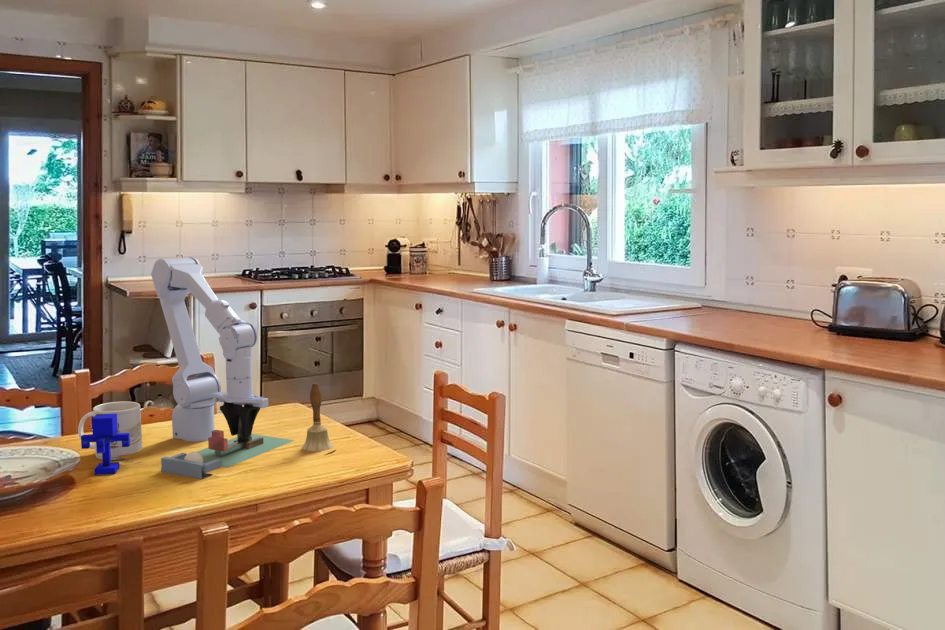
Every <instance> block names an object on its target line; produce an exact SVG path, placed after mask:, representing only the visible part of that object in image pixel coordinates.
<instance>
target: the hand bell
mask: <svg viewBox="0 0 945 630" xmlns="http://www.w3.org/2000/svg"><path fill="white" fill-rule="evenodd" d="M309 397H310V398H309V400H310V405H311V408H312V423H313V424H312V426H309V427H308V428H307V432H306V438H305V442H304V444H303V445H302V446H301V449H302V450H304V451H307V452H325V451H329V450H331V449H333V448H334V445H333V443H332V442H331V440H330V437H329V434H328V428H327V427H326V426H325V425H322V422H321V420H322V419H321V406H322V391H321V389H320V385H319V383H318V382H313V383H312V384H311V389H310V393H309ZM336 451H337V450H336V449H334V450H331V451H330V452H328V453H325V454H324V456H327V455H331V454H333V453H335V452H336Z"/></svg>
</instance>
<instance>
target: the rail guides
mask: <svg viewBox="0 0 945 630" xmlns="http://www.w3.org/2000/svg"><path fill="white" fill-rule="evenodd" d="M250 439H251V441H248V442H246V449H251V448H253V447H256V446H259V445H261V444H263V438H262V437H259V438H256V439H254V440H252V436H250ZM234 442H237V440H234Z"/></svg>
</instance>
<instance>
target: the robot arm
mask: <svg viewBox="0 0 945 630" xmlns="http://www.w3.org/2000/svg"><path fill="white" fill-rule="evenodd" d="M150 275H151V279H152V283H153V285H154V288H155V292H156V296H157V297H158V298H159V302H160V305H161V310H162V312H163V316H164V319H165V323H166V326H167V329H168V333H169V337H170V340H171V343H172V346H173V349H174V350H173V351H174V353H175V358H176V360H177V364H178V367H179V368H178V369H177V370H176V372H175V374H173V376H172V378H171V381H172V395H173V398H174V401H176V404H177V405H175V407H174V408H173V409H172V415H171V425H172V426H171V428H172V429H171V430H172V431H171V432H172V439H177V440H183V441H186V442H192V443H193V442H194V443H195V442H205V441H208V437H211V436H212V434H211V431H213V430H216V429H215V428H216V427H215V404H217V403H218V402H219V403H223V404H222V405H220V406H219V410H220V411H221V413H222V415H223V416H224V418H225V420H226V423H227V425H228V429H229V432H230V436H232V437H233V436H237V415H238V414H239V415H240V419H241V425H242V435H243V437H245V438H246V437H249V436H251V434H253V433H252V432H253V429H254V424H255V421H256V418H257V416H258V414H259V412H260V410H261V409H266V408H269V398H267V397H263V396H259V395H256V394H254V391H253V388H254V387H253V385H254V384H253V353H252V351H253V350H252V349H253V347H254V346H255V345H256V343H257V340H258V335H257V330H256V328H255V326H254V325H253V324H252V322H248V321H247V322H246V321H245V320H244V319H241V318H240V317H239V315H238V314H237V313H236V312H235V310H233V307H231V305H230V303H229V302H228V301H226V300H225V299H218V297H217V295H216V294H215V292H214V290H213V289H212V288H211V286H210V284H209V283H208V281H207V280H206V278H205V277H204V267H203V266H202V265H201V263H200V262H199V260H198V259H197V258H196V257H194V256H191V257H184V258H179V257H178V258H159V259H157V260H156V261H155V262H154V264H153V267H152V270H151V274H150ZM190 294H191V295H193V297H194V298H195V299H196V300H197V301H198V302H199V303H200V304H201V305H202V307H204V308H205V312H204V316H205V318H206V319H207V320H208V322H209V323H210V325H211V326H212V327H213V328H214V329H215V331H216V332H217V334H218V335H219V336H218V341H219V345H220V346H221V349H222V355H223V358H225V376H226V379H225V380H226V385H225V386H226V392H222V385H221V382H220V379H219V378H218V377H217V375H216V373H215V371H214V368H213V367H212V366H210V365H209V364H207V363H206V362H204V361H203V360H202V355H201V353H200V349H199V345H198V342H197V339H196V336H195V332H194V329H193V325H192V322H191V318H190V315H189V312H188V308H187V305H186V301H185V299H186V297H187V296H188V295H190Z"/></svg>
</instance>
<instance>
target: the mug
mask: <svg viewBox="0 0 945 630" xmlns="http://www.w3.org/2000/svg"><path fill="white" fill-rule="evenodd" d="M141 412H142V411H141V404H140V403H138V402H135V401H127V400H126V401H111V402H104V403H102V404H98V405H95V406H94V407H92V411H90V412H87V413H86V414H85V415H83V416H82V417H81V419H80V421H79V423H78V428H77V430H78V431H77V433H78V437H79V440H80V441H81V436H82V435H85V433H84V425H85V422H86V421H87V419H88V418H90V417H92V418H93V417H94V416H95V415H96V414H115V413H117V427H118V432H117V433H130V446H129V447H122V441H114V442H113V443H110V452H111V461H119V460H120V461H121V460H125V459H126V458H123V457H121V456H127V455H131V454H135V453H137V452H138V453H139V452H140V451H141V450H142V449H143V438H142V437H143V433H142V432H143V431H142V415H141V414H142V413H141ZM88 449H91V450H94V451H95V457H96V459H99V460H102V453H97V448H96V442H94V443H93V442H90V447H89V448H88Z"/></svg>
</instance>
